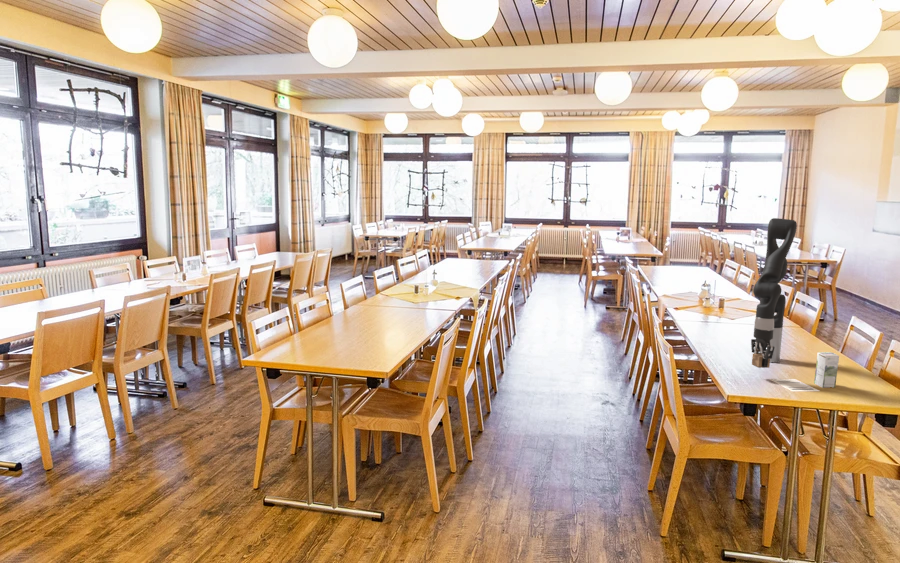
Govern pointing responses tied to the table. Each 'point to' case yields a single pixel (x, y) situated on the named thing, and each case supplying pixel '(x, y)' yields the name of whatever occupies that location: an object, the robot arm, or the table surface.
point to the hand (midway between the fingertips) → (760, 365)
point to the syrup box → (826, 369)
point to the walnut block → (759, 361)
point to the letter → (793, 385)
